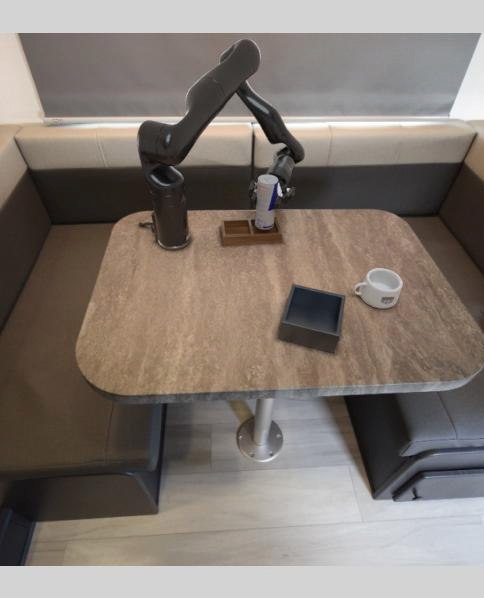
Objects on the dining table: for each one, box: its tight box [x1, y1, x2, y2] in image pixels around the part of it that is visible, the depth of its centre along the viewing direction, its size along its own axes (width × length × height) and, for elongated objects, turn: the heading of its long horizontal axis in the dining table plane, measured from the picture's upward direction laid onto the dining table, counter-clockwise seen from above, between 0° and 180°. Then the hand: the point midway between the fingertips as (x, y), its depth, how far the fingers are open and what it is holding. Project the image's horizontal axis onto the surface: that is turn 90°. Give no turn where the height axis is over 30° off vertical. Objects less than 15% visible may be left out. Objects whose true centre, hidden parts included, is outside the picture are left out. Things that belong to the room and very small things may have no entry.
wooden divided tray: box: [220, 216, 283, 246], centre depth 106 cm, size 9×17×3 cm, turn 97°
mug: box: [352, 267, 404, 310], centre depth 88 cm, size 12×10×6 cm
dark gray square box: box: [277, 283, 346, 354], centre depth 81 cm, size 13×13×6 cm
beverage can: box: [254, 174, 278, 230], centre depth 100 cm, size 6×6×15 cm
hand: (264, 204), depth 98 cm, fingers closed on beverage can, 5 cm apart
